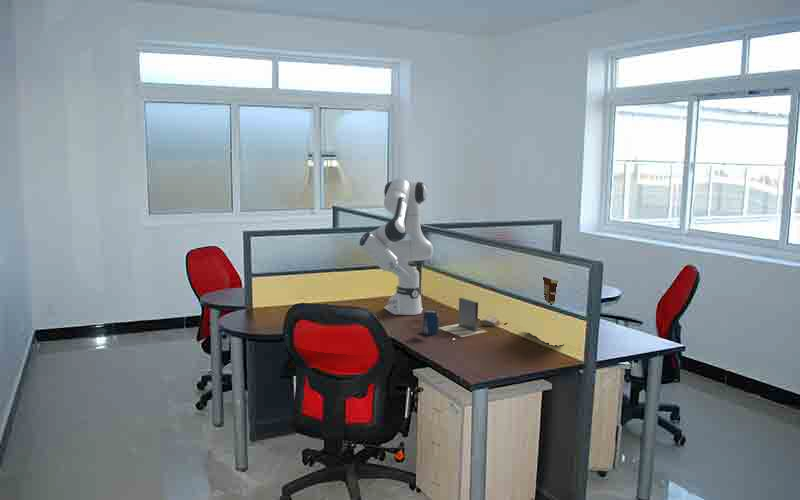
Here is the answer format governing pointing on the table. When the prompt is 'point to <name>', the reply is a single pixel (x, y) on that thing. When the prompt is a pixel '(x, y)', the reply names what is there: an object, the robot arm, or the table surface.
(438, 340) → the table surface
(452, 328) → the shelf plank
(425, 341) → the table surface
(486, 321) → the packaged product
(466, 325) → the bookend
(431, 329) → the soda can
